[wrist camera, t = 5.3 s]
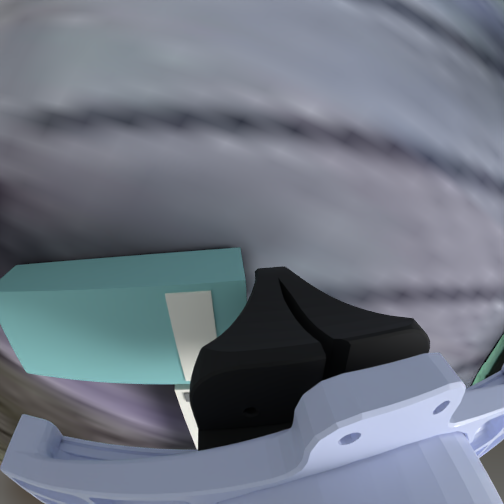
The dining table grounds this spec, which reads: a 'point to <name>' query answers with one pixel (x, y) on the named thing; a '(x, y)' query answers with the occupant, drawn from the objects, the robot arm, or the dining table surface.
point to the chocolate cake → (492, 362)
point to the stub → (121, 314)
